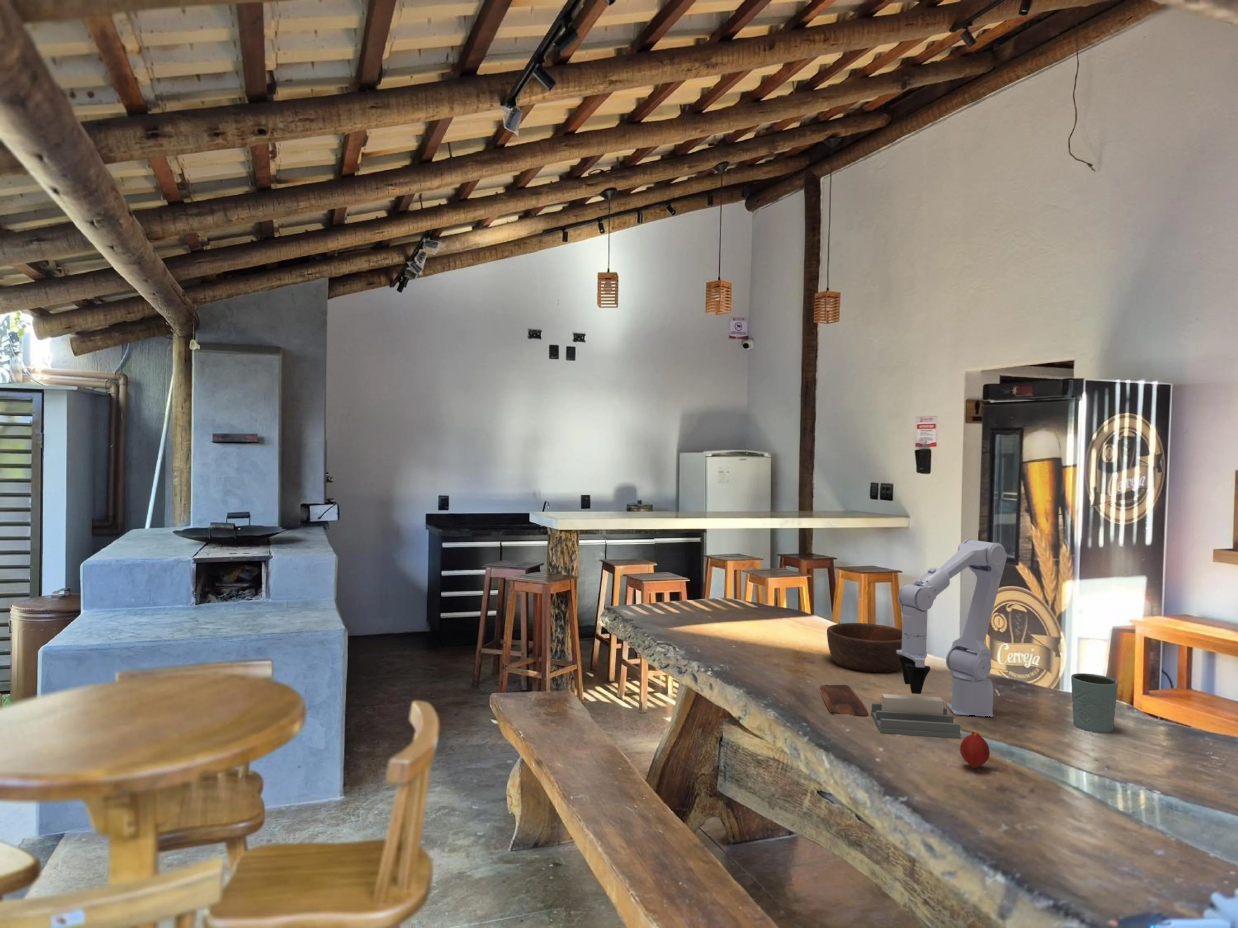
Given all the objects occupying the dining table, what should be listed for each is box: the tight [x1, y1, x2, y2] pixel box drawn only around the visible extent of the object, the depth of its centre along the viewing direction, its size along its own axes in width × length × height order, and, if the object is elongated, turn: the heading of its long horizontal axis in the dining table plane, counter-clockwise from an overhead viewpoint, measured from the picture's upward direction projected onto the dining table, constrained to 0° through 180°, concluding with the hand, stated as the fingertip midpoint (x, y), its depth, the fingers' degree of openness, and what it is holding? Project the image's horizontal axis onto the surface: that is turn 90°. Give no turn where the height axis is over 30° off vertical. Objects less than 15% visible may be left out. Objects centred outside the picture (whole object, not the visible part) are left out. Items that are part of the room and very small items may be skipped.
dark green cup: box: [1070, 672, 1119, 734], centre depth 206 cm, size 10×10×12 cm
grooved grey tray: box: [870, 702, 962, 739], centre depth 204 cm, size 18×14×3 cm
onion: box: [959, 730, 991, 769], centre depth 178 cm, size 6×6×8 cm
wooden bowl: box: [826, 622, 902, 673], centre depth 259 cm, size 25×25×10 cm
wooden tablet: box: [819, 684, 869, 717], centre depth 223 cm, size 26×2×10 cm
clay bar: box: [881, 693, 944, 715], centre depth 206 cm, size 14×3×5 cm, turn 83°
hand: (912, 688), depth 206 cm, fingers open, 7 cm apart
